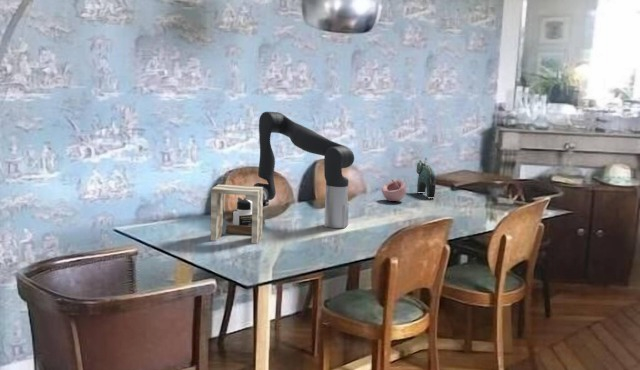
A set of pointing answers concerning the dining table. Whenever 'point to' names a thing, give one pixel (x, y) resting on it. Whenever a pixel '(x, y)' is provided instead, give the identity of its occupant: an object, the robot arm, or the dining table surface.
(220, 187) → the bridge
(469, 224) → the dining table surface
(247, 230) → the wooden base display case
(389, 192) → the mortar and pestle
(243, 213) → the medicine bottle
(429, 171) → the green elephant figurine
